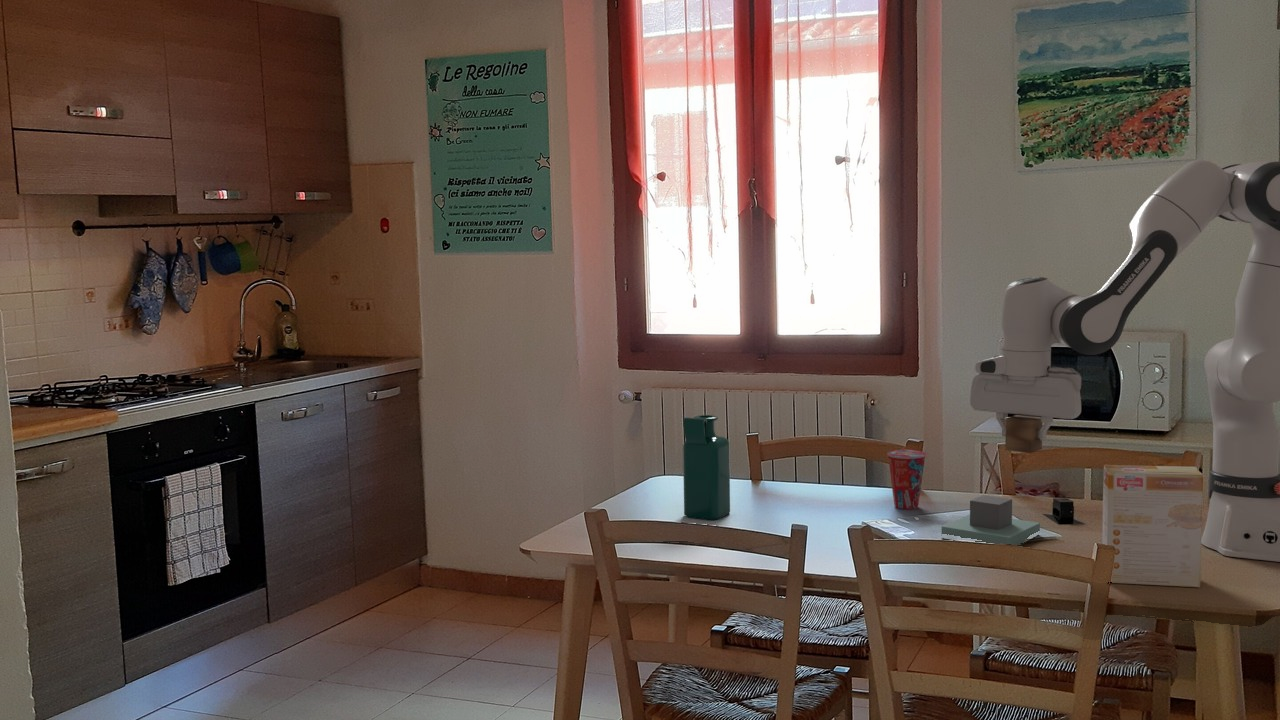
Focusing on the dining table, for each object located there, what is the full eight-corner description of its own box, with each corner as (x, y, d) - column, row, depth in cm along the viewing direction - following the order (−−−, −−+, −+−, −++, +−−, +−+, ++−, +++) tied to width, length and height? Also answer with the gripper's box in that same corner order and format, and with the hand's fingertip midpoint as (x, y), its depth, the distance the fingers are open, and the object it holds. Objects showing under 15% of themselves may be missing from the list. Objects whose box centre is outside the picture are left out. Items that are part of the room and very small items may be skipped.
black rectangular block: (1092, 528, 237) (1092, 506, 236) (1056, 529, 237) (1057, 507, 236) (1067, 513, 249) (1068, 492, 249) (1034, 514, 249) (1034, 493, 249)
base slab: (1039, 535, 230) (1039, 522, 230) (1009, 550, 220) (1009, 537, 219) (973, 524, 239) (973, 512, 239) (941, 538, 229) (941, 526, 229)
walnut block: (1041, 449, 218) (1042, 417, 217) (1031, 453, 214) (1032, 420, 213) (1016, 446, 221) (1016, 414, 220) (1005, 450, 217) (1005, 418, 217)
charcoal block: (1011, 523, 229) (1012, 499, 229) (998, 530, 225) (999, 504, 224) (983, 519, 233) (983, 495, 233) (969, 525, 229) (970, 500, 228)
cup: (934, 508, 254) (934, 454, 252) (901, 512, 250) (901, 458, 249) (909, 500, 262) (909, 447, 261) (877, 504, 259) (877, 451, 258)
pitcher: (699, 508, 258) (697, 411, 256) (733, 512, 254) (732, 413, 251) (677, 518, 250) (676, 417, 247) (712, 522, 245) (711, 420, 243)
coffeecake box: (1192, 576, 201) (1195, 465, 199) (1201, 588, 194) (1204, 474, 192) (1100, 571, 205) (1102, 463, 203) (1105, 583, 198) (1108, 471, 196)
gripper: (1087, 366, 212) (1085, 441, 213) (981, 360, 225) (980, 430, 226) (1075, 370, 207) (1073, 446, 208) (967, 363, 220) (965, 435, 222)
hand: (1023, 438), depth 217 cm, fingers closed on walnut block, 5 cm apart
